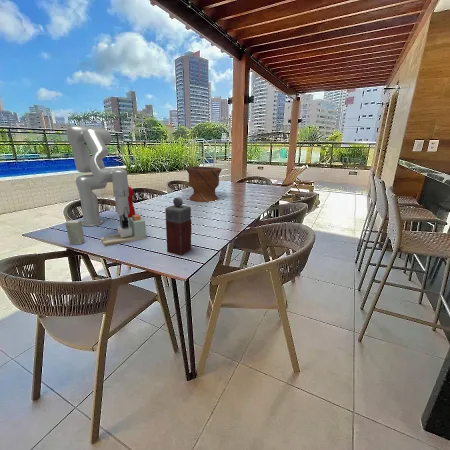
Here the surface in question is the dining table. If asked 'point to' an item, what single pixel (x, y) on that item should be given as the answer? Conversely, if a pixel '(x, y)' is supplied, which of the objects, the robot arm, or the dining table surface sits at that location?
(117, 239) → the track
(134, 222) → the end cabinet
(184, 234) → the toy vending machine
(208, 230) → the dining table surface
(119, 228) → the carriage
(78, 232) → the skincare box
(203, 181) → the wooden planter
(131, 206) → the water bottle
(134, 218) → the button
